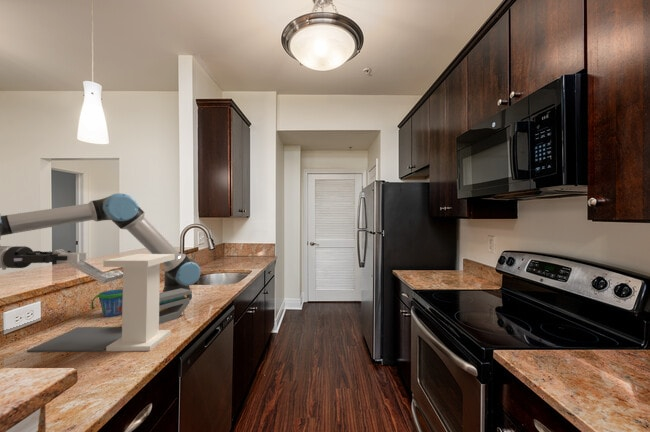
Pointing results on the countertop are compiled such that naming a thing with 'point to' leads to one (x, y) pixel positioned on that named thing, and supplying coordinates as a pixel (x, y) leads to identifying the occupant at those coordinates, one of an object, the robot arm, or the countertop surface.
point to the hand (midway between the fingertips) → (82, 257)
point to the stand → (140, 301)
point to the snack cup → (110, 302)
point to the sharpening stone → (173, 304)
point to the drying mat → (81, 340)
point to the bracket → (92, 269)
